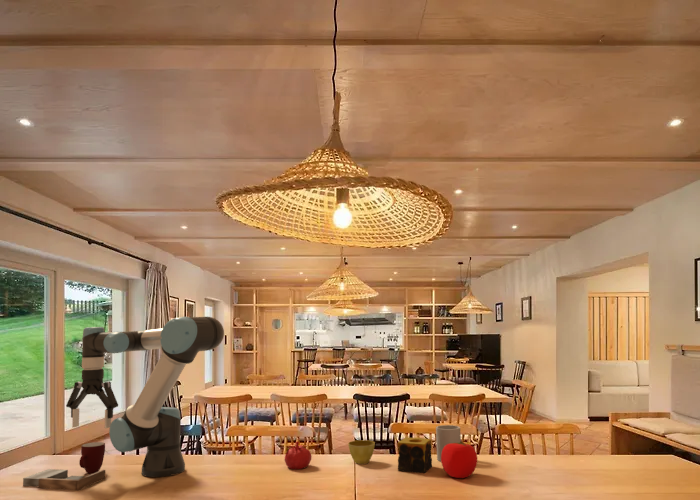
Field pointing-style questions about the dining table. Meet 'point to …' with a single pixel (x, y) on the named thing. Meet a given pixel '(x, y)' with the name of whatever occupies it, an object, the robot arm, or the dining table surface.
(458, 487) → the dining table surface
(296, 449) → the pomegranate
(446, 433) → the cup
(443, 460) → the tomato
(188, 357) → the robot arm
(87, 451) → the mug
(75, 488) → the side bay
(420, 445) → the candle
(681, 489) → the dining table surface
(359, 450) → the flower pot
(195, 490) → the dining table surface
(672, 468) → the dining table surface
